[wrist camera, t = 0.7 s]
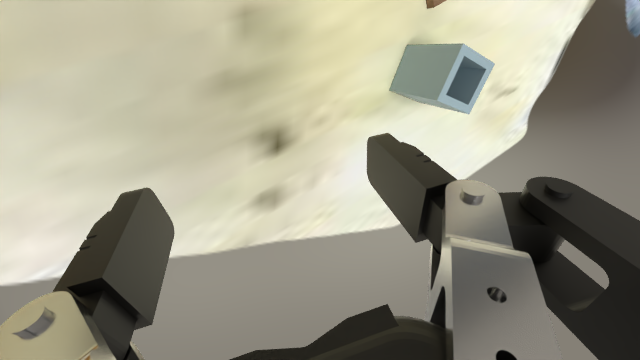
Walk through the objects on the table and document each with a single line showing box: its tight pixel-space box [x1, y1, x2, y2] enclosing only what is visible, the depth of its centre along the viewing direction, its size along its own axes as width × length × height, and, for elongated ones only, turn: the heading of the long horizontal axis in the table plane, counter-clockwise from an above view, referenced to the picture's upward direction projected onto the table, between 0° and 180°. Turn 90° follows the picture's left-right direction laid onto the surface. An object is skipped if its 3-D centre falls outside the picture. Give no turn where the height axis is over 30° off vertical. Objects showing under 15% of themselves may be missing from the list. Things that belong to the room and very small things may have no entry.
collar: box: [389, 44, 495, 114], centre depth 33 cm, size 6×6×9 cm
